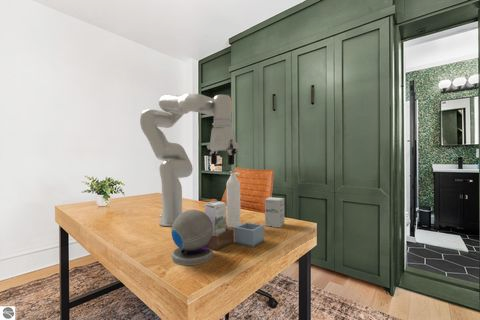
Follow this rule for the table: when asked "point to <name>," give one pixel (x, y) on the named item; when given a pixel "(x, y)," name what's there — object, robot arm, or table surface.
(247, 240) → the blue-grey open box
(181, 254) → the webcam
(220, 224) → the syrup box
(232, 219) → the water bottle
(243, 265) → the table surface
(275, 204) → the supplement box
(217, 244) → the walnut box
